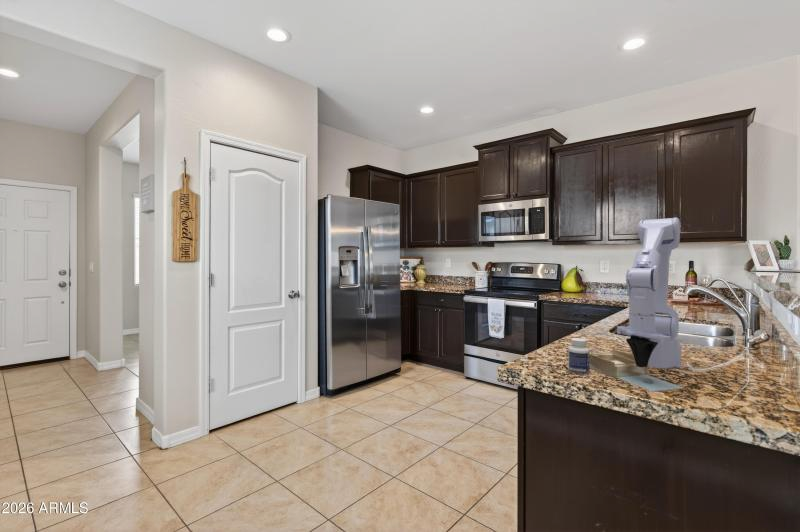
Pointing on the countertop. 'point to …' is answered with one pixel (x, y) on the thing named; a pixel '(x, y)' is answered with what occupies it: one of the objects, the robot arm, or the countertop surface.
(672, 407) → the countertop surface
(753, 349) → the countertop surface
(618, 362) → the soap bar
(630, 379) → the lid
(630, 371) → the box
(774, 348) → the countertop surface
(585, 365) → the pill bottle
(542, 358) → the countertop surface
